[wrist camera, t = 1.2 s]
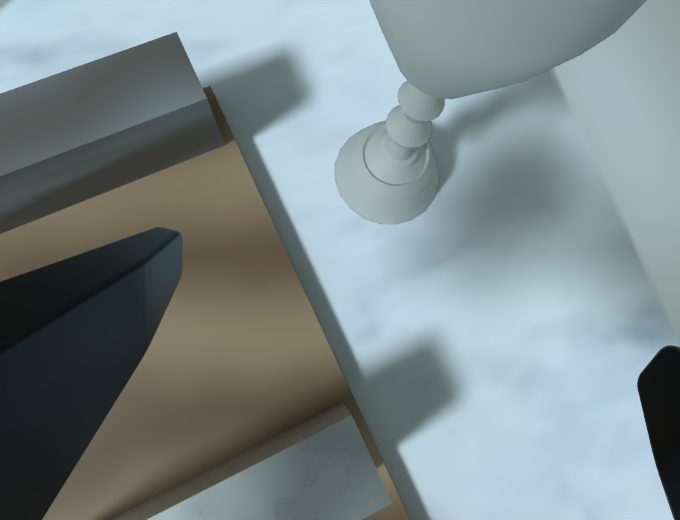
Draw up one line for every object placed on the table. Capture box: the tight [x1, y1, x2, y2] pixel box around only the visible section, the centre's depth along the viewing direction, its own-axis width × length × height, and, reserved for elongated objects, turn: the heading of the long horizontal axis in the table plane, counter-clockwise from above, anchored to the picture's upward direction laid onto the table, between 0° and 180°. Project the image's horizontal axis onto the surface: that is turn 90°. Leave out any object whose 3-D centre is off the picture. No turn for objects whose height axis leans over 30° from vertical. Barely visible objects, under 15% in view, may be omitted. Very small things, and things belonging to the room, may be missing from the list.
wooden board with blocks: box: [0, 32, 410, 520], centre depth 17 cm, size 28×13×5 cm, turn 25°
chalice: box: [335, 0, 646, 224], centre depth 13 cm, size 7×7×18 cm
